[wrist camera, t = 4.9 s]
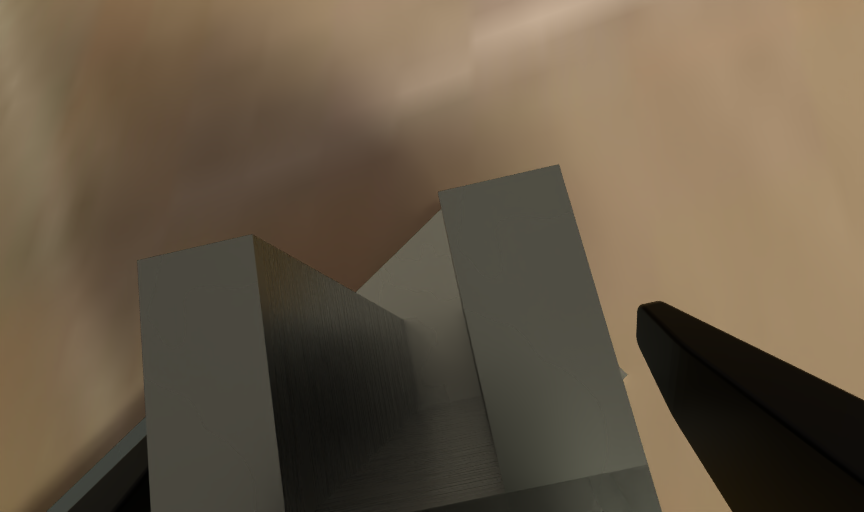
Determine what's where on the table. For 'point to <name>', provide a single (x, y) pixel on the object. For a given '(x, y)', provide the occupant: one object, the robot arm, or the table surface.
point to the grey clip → (390, 377)
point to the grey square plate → (429, 314)
